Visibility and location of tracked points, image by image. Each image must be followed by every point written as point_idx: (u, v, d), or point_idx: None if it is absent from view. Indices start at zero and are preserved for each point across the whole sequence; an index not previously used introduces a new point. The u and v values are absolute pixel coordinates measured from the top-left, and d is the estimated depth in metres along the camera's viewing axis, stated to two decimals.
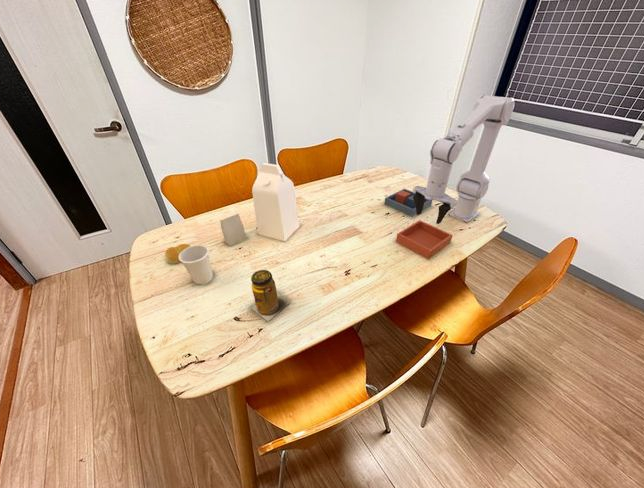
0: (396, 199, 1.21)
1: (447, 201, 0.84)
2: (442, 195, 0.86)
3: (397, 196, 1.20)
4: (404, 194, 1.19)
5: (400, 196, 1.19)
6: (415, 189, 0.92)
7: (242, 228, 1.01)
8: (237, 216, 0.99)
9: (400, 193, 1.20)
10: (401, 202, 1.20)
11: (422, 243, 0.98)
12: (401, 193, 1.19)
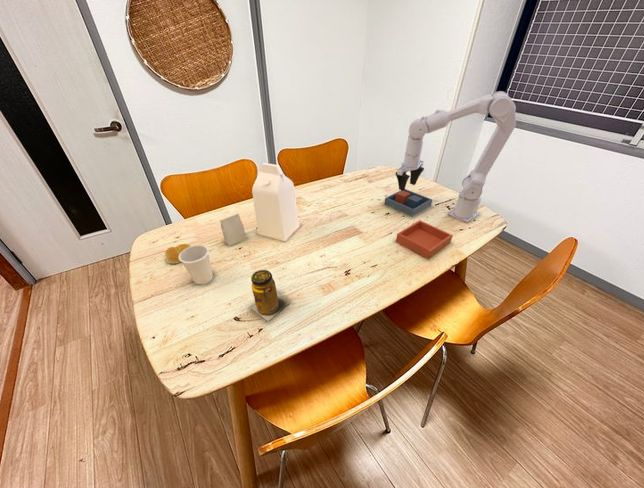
0: (396, 199, 1.21)
1: None
2: (406, 165, 1.07)
3: (397, 196, 1.20)
4: (404, 194, 1.19)
5: (400, 196, 1.19)
6: None
7: (242, 228, 1.01)
8: (237, 216, 0.99)
9: (400, 193, 1.20)
10: (401, 202, 1.20)
11: (422, 243, 0.98)
12: (401, 193, 1.19)
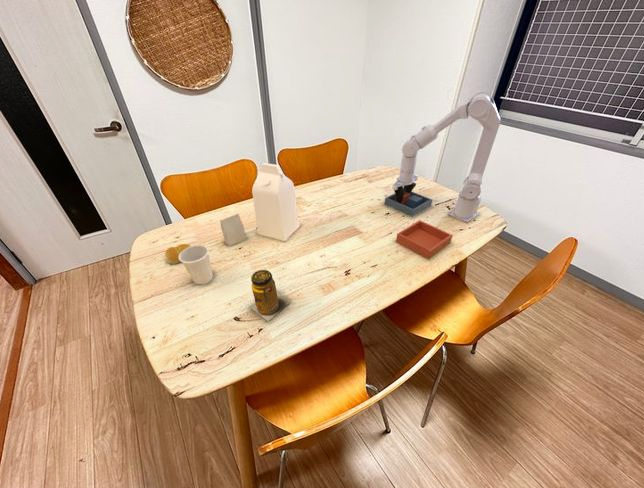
0: None
1: (395, 183, 1.14)
2: (400, 180, 1.15)
3: None
4: (404, 194, 1.19)
5: None
6: None
7: (242, 228, 1.01)
8: (237, 216, 0.99)
9: None
10: (401, 202, 1.20)
11: (422, 243, 0.98)
12: None
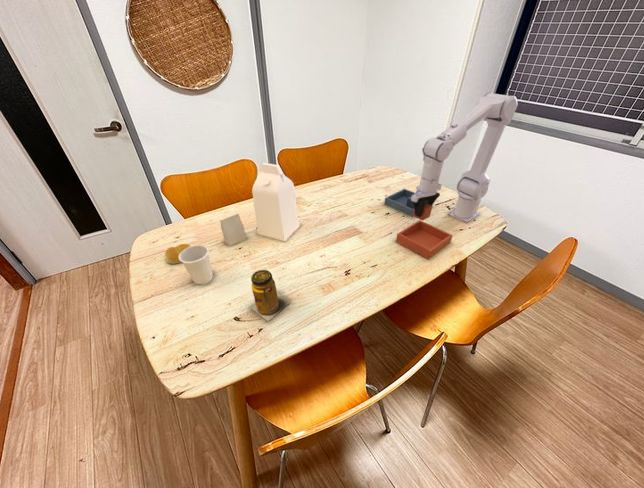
0: (414, 212, 0.99)
1: None
2: (421, 190, 0.92)
3: None
4: (425, 206, 0.96)
5: None
6: None
7: (242, 228, 1.01)
8: (237, 216, 0.99)
9: None
10: (421, 216, 0.97)
11: (422, 243, 0.98)
12: None
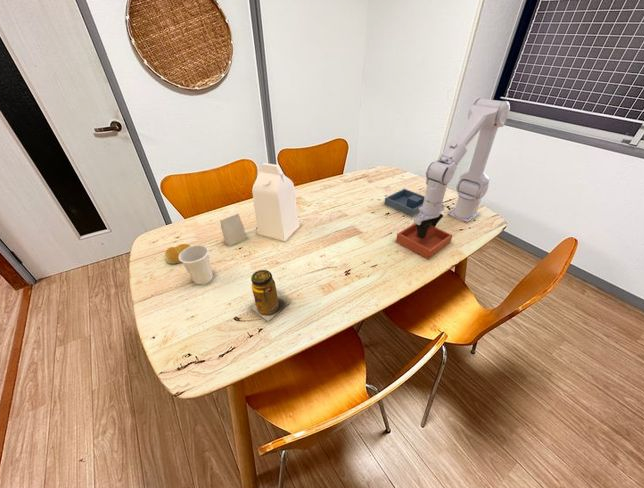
0: (417, 233, 0.97)
1: (417, 216, 0.90)
2: (424, 212, 0.90)
3: None
4: (428, 228, 0.95)
5: None
6: None
7: (242, 228, 1.01)
8: (237, 216, 0.99)
9: None
10: (424, 237, 0.96)
11: (422, 243, 0.98)
12: None
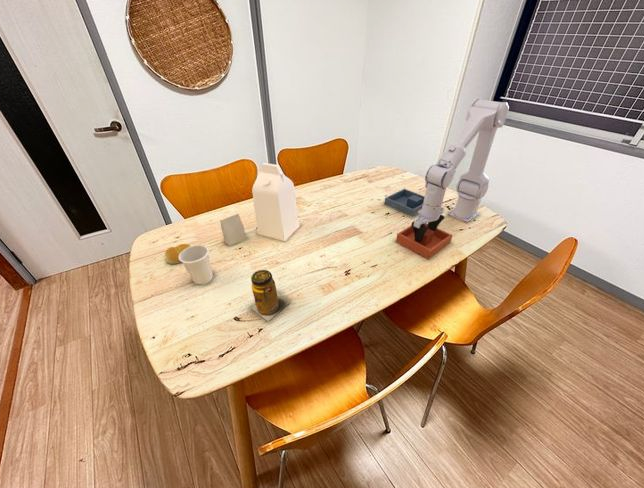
0: None
1: (416, 219, 0.91)
2: (424, 215, 0.91)
3: None
4: (426, 232, 0.96)
5: None
6: None
7: (242, 228, 1.01)
8: (237, 216, 0.99)
9: None
10: (423, 242, 0.97)
11: None
12: None
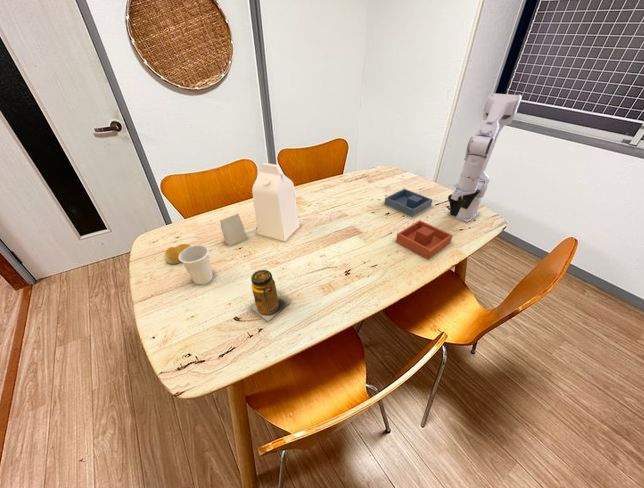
0: (416, 238, 0.98)
1: (454, 192, 0.91)
2: (461, 188, 0.91)
3: (418, 234, 0.97)
4: (426, 232, 0.96)
5: (422, 235, 0.96)
6: None
7: (242, 228, 1.01)
8: (237, 216, 0.99)
9: (421, 231, 0.97)
10: (423, 242, 0.97)
11: None
12: (423, 231, 0.96)
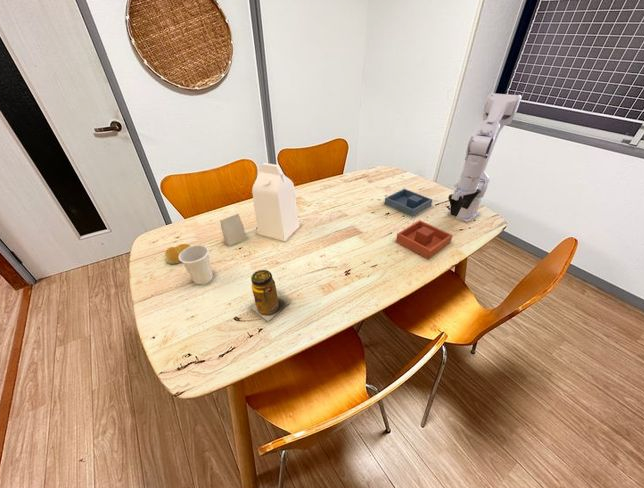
0: (416, 238, 0.98)
1: None
2: (461, 188, 0.91)
3: (418, 234, 0.97)
4: (426, 232, 0.96)
5: (422, 235, 0.96)
6: None
7: (242, 228, 1.01)
8: (237, 216, 0.99)
9: (421, 231, 0.97)
10: (423, 242, 0.97)
11: None
12: (423, 231, 0.96)
